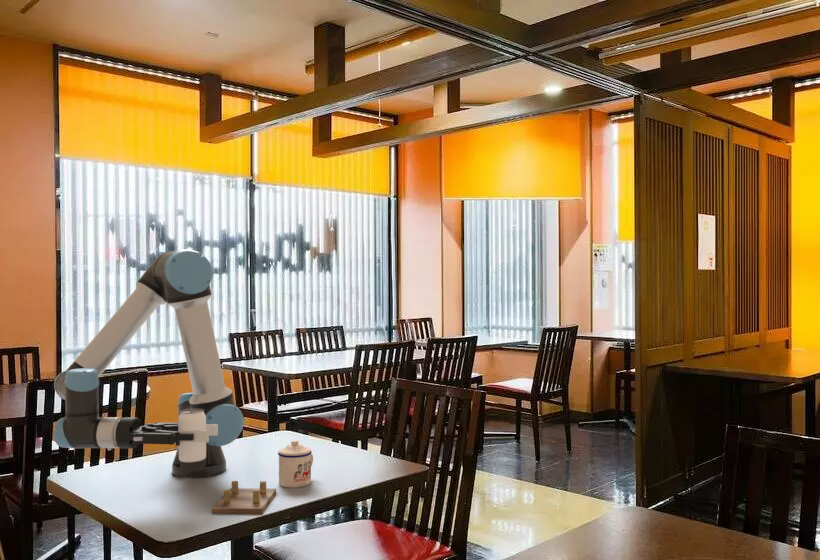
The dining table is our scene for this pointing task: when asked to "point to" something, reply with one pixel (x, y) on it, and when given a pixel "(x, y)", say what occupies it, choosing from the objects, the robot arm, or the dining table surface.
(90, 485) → the dining table surface
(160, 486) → the dining table surface
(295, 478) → the teacup with lid
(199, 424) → the can
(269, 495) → the pin tray
